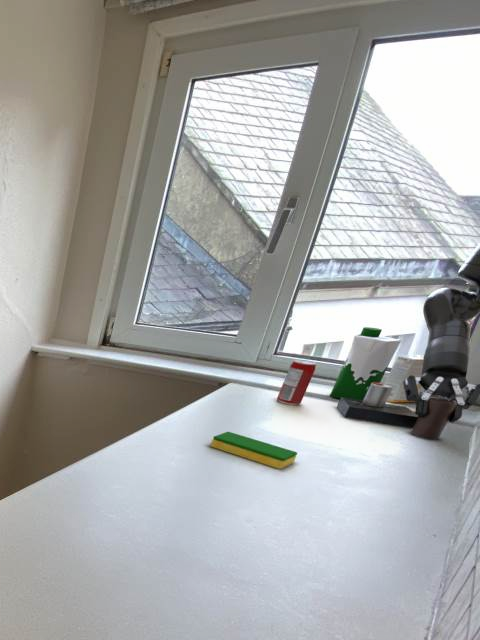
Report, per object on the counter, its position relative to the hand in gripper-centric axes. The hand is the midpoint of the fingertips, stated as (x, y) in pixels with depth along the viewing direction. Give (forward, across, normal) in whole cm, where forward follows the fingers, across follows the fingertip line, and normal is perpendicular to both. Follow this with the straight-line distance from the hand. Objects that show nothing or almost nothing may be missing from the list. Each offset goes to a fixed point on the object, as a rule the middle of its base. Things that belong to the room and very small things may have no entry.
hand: (437, 418), depth 131 cm
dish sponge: (+31, -39, -24) cm, 56 cm away
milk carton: (-19, -9, +26) cm, 34 cm away
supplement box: (-24, +3, +31) cm, 39 cm away
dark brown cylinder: (+2, 0, +5) cm, 6 cm away
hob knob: (-8, -9, +11) cm, 16 cm away
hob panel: (-5, -8, +13) cm, 16 cm away
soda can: (-7, -26, +14) cm, 30 cm away
